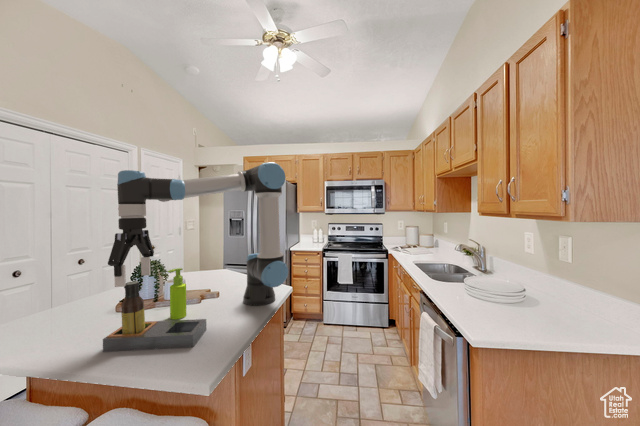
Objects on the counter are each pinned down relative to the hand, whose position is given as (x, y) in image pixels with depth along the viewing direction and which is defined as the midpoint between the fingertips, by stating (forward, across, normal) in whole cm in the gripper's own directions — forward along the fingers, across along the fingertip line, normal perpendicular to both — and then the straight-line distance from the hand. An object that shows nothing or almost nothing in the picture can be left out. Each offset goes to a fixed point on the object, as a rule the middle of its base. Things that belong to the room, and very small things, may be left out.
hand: (134, 280), depth 86 cm
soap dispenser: (+21, -19, +5) cm, 28 cm away
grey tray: (+20, 0, +8) cm, 22 cm away
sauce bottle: (+21, 0, 0) cm, 21 cm away
